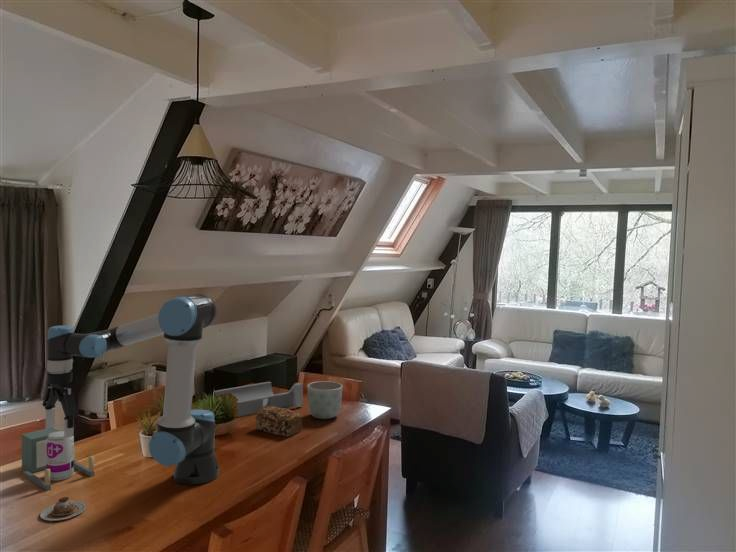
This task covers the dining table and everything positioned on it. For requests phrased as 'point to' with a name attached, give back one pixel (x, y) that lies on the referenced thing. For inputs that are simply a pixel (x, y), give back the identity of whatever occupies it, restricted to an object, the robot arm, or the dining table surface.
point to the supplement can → (59, 455)
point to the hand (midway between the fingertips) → (59, 432)
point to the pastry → (62, 509)
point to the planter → (324, 399)
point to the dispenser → (43, 457)
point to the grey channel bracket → (263, 397)
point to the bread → (278, 421)
